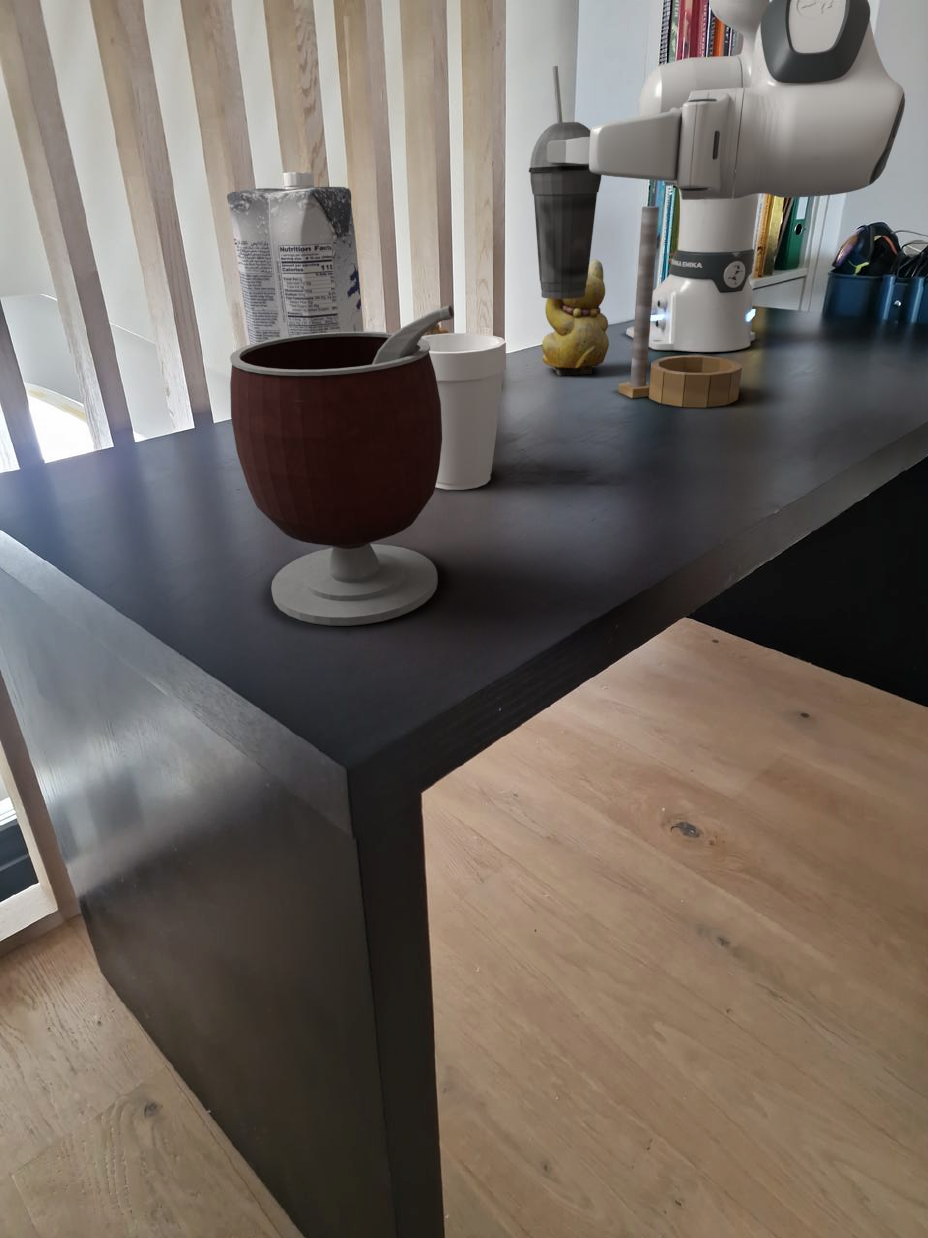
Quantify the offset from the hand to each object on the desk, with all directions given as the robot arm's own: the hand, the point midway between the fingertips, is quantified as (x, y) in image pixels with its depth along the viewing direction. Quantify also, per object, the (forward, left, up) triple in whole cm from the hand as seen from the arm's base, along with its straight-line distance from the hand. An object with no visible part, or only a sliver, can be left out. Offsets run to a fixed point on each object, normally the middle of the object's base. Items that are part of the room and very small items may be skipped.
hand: (556, 152), depth 80 cm
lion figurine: (-31, -3, -28) cm, 42 cm away
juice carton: (-5, -25, -28) cm, 38 cm away
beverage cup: (+1, +1, -13) cm, 13 cm away
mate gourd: (+29, -28, -28) cm, 49 cm away
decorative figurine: (-27, +17, -28) cm, 42 cm away
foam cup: (+9, -14, -28) cm, 33 cm away
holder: (-8, +24, -28) cm, 37 cm away
